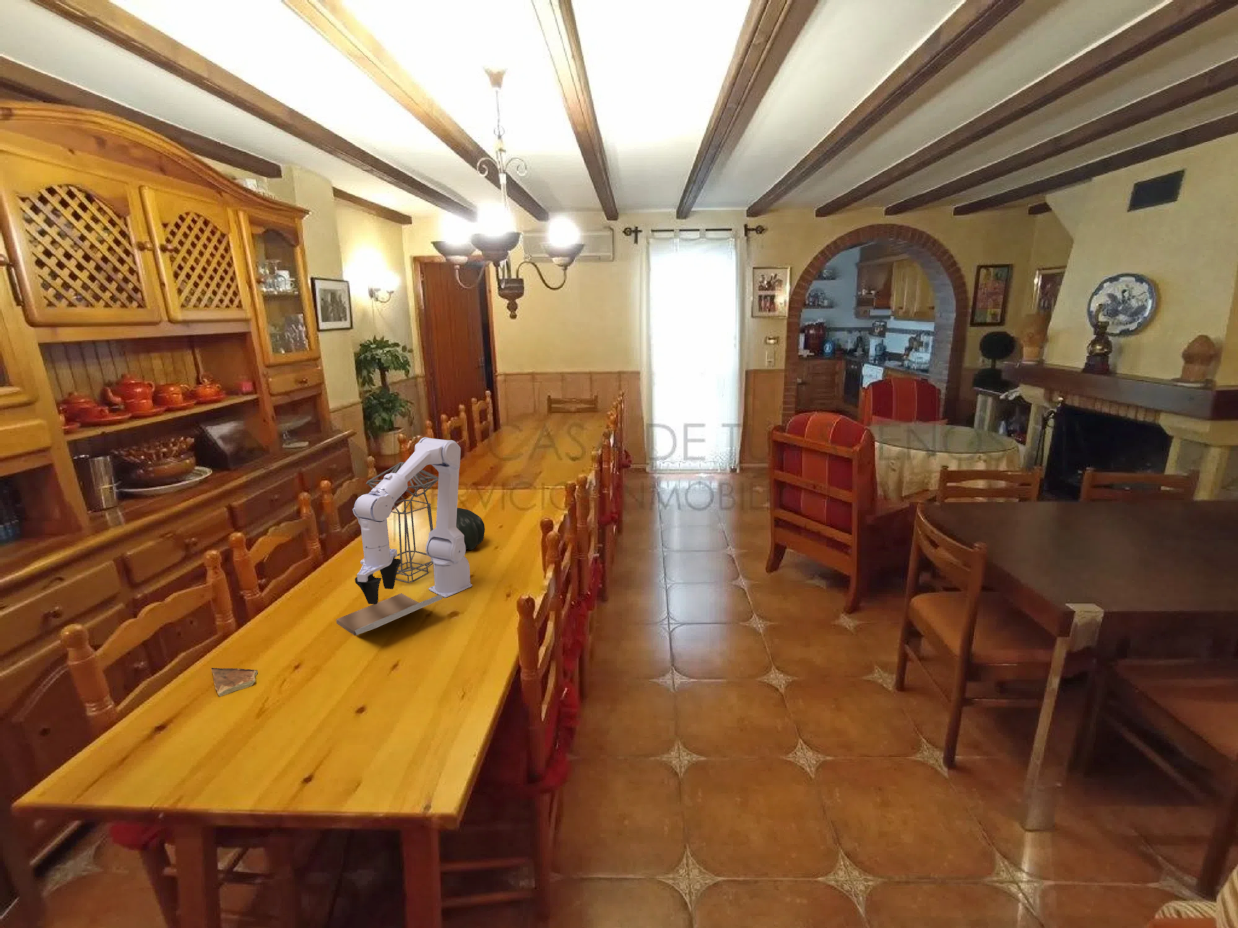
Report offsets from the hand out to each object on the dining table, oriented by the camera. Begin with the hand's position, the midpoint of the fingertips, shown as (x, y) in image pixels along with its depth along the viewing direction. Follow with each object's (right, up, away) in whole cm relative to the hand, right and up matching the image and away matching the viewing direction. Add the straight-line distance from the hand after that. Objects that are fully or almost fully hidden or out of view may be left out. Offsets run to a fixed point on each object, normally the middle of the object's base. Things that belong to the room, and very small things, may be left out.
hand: (381, 595), depth 135 cm
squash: (+5, +4, +54) cm, 54 cm away
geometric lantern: (-5, -1, +33) cm, 34 cm away
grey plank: (+4, -6, +3) cm, 7 cm away
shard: (-25, -15, -18) cm, 34 cm away
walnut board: (-4, -7, +9) cm, 13 cm away
